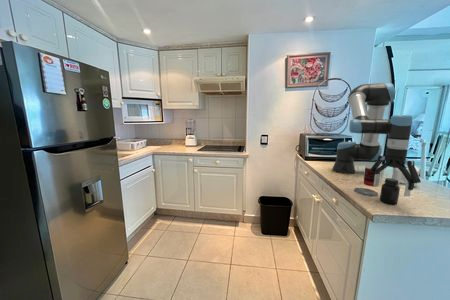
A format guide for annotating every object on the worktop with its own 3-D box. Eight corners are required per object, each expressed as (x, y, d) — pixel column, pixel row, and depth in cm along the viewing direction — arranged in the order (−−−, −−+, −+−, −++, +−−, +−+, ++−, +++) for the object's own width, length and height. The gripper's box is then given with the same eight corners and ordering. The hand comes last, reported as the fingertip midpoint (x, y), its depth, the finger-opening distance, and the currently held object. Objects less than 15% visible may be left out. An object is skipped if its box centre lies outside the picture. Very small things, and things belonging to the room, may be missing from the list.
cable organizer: (417, 189, 112) (420, 170, 110) (393, 185, 118) (396, 167, 116) (411, 182, 124) (414, 164, 122) (390, 179, 130) (393, 162, 128)
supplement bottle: (375, 199, 97) (379, 177, 95) (388, 199, 98) (391, 177, 96) (388, 206, 91) (392, 182, 89) (401, 205, 91) (405, 181, 89)
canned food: (376, 183, 122) (378, 166, 120) (380, 187, 115) (382, 169, 113) (361, 181, 125) (364, 165, 123) (364, 185, 118) (367, 168, 116)
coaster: (349, 189, 111) (349, 188, 111) (363, 187, 114) (363, 186, 114) (367, 197, 100) (368, 196, 100) (383, 194, 103) (383, 193, 103)
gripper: (365, 144, 100) (360, 183, 104) (425, 152, 77) (416, 202, 80) (375, 144, 102) (370, 182, 106) (437, 152, 79) (428, 200, 82)
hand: (390, 190), depth 93 cm, fingers open, 13 cm apart
